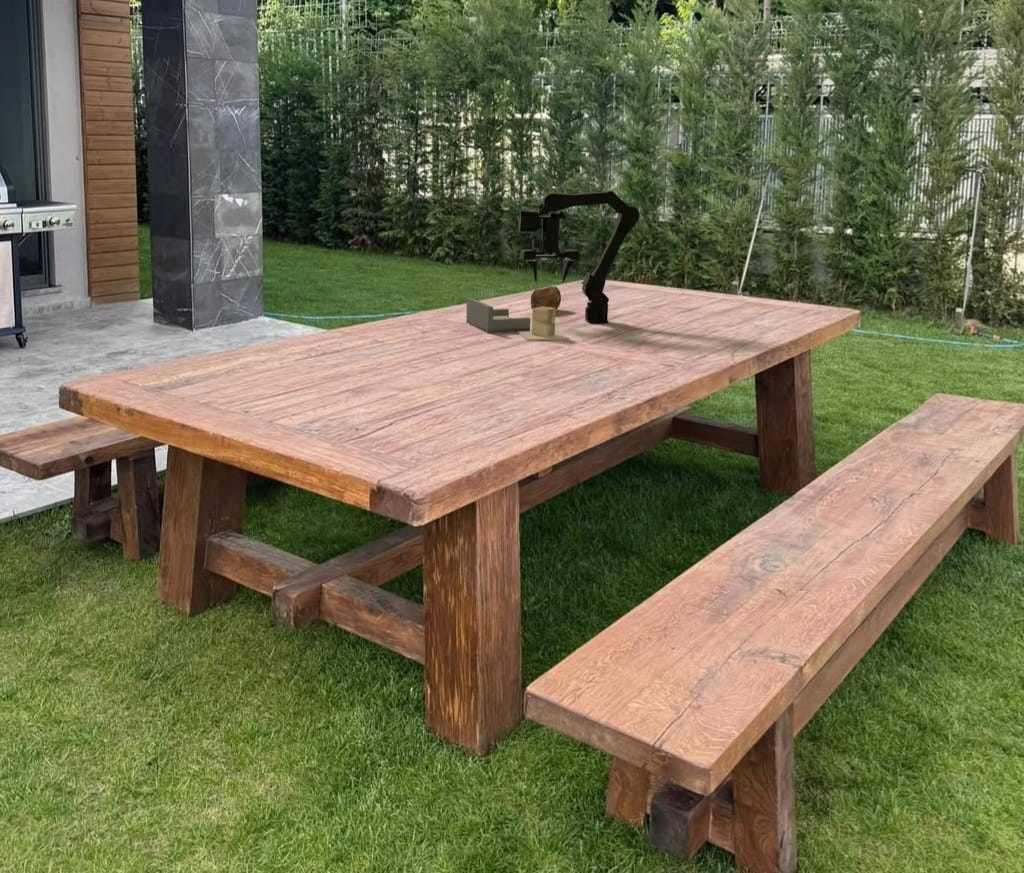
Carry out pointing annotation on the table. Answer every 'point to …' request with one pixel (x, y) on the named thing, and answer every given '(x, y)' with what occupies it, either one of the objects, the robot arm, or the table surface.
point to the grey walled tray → (493, 318)
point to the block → (543, 321)
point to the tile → (556, 336)
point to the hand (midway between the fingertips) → (549, 281)
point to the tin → (546, 298)
